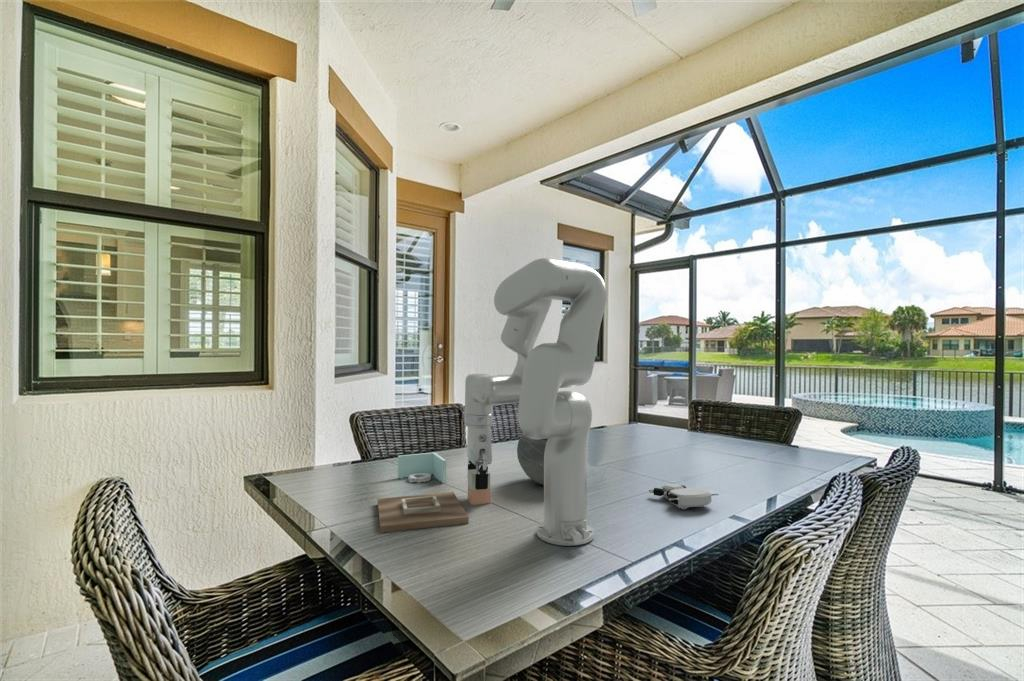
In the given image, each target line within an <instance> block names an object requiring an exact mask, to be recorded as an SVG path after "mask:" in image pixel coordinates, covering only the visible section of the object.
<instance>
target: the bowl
mask: <svg viewBox="0 0 1024 681" xmlns="http://www.w3.org/2000/svg"><path fill="white" fill-rule="evenodd" d="M547 441H548V438H547V439H540V440H536V439H531V438H529V437H527V436H526V435H525V434H524V433H523V432H522V433H521V434H520V437H519V439H518V441H517V447H516V452H517V454H516V455H517V460H518V463H519V465H520V467H521V469H522V471H523V472H524V473H525V475H527V477H528V478H529V479H531V480H532V481H533V482H535V483H537V484H538V485H542V486H544V453H545V447H546V444H547Z"/></svg>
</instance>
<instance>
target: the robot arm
mask: <svg viewBox="0 0 1024 681" xmlns="http://www.w3.org/2000/svg"><path fill="white" fill-rule="evenodd" d="M495 290H496V291H495V293H494V297H493V303H494V304H493V305H494V307H495V310H496V311H497V312H498V314H500V315H502V316H507V319H506V321H505V324H504V327H503V329H502V331H501V334H500V340H501V342H502V343H503V345H504V346H505V347H506V348H507V349H509V350H510V351H512V352H514V353H516V354H517V361H516V365H515V367H514V369H513V372H512V374H497V375H491V374H488V373H487V374H486V373H471V374H468V375H467V376H465V384H464V386H465V388H464V389H465V390H464V427H467V433H466V434H467V437H466V438H467V439H466V454H467V455H466V457H467V458H468V459H467V471H468V470H472V469H476V470H477V474H476V480H475V488H476V490H481V489H487V488H488V471H489V465H491V464H492V462H493V458H492V457H493V456H492V430H491V427H493V417H494V416H493V415H494V414H493V412H494V410H493V409H494V406H499V405H500V406H501V405H506V404H508V405H509V404H517V403H518V407H517V420H518V421H517V422H518V425H519V427H520V428H519V429H520V430H521V432H522V433H524V434H525V435H526V436H527V437H529V438H531V439H536V440H540V439H547V438H548V441H547V444H546V447H545V453H544V485H543V522H541V523H540V524H538V526H537V527H536V536H538V538H539V540H542V541H544V542H546V543H547V544H551V545H557V546H564V547H570V546H571V547H572V546H573V547H574V546H575V547H576V546H581V545H584V544H588V543H589V542H591V541H593V539H594V538H595V530H594V528H593V527H592V526H591V525H589V524H588V448H589V446H588V445H589V438H590V431H591V426H592V419H593V412H592V411H593V410H592V406H591V403H590V402H589V400H588V399H587V397H586V396H585V395H583V394H582V393H580V392H578V391H574V390H560V389H564V388H576V387H580V386H584V385H586V384H587V383H588V382H589V381H590V380H591V377H592V374H593V371H594V370H593V369H594V366H595V360H596V356H597V355H596V353H597V348H598V342H599V337H600V329H601V325H602V324H601V323H602V320H603V316H604V312H605V309H606V305H607V300H608V299H607V298H608V297H607V296H608V293H607V292H608V291H607V286H606V283H605V281H604V279H603V277H602V276H601V274H600V273H599V272H597V270H595V269H594V268H592V267H590V266H588V265H585V264H582V263H578V262H573V261H572V262H571V261H566V260H561V259H560V260H559V259H555V258H549V257H548V258H546V257H541V258H537V259H535V260H533V261H531V262H528V263H527V264H525V265H524V266H522V267H521V268H519V269H518V270H516V271H514V272H513V273H512V274H510V275H509V276H507V277H506V278H505V279H504V280H503V281H501V282H500V284H499V285H498V287H497V289H495ZM553 300H557V301H566V302H567V301H568V302H569V303H570V305H569V307H568V308H567V309H566V310H565V312H564V314H563V316H562V318H561V321H560V325H559V331H558V336H557V341H556V342H545V343H541V344H539V345H537V346H535V343H536V341H537V339H538V337H539V334H540V332H541V329H542V327H543V325H544V322H545V320H546V318H547V315H548V313H549V311H550V308H551V305H552V301H553ZM559 390H560V391H559Z"/></svg>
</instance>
